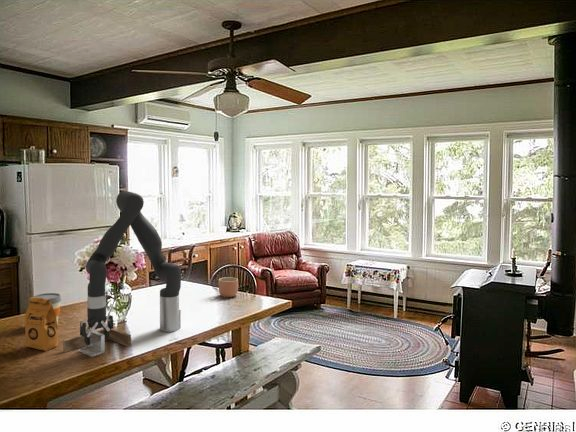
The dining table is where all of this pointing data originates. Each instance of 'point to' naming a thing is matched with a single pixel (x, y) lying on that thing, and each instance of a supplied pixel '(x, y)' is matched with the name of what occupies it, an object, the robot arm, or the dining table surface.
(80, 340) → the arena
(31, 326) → the coffee package
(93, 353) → the angle bracket
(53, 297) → the reusable coffee cup
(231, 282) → the planter
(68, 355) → the dining table surface
